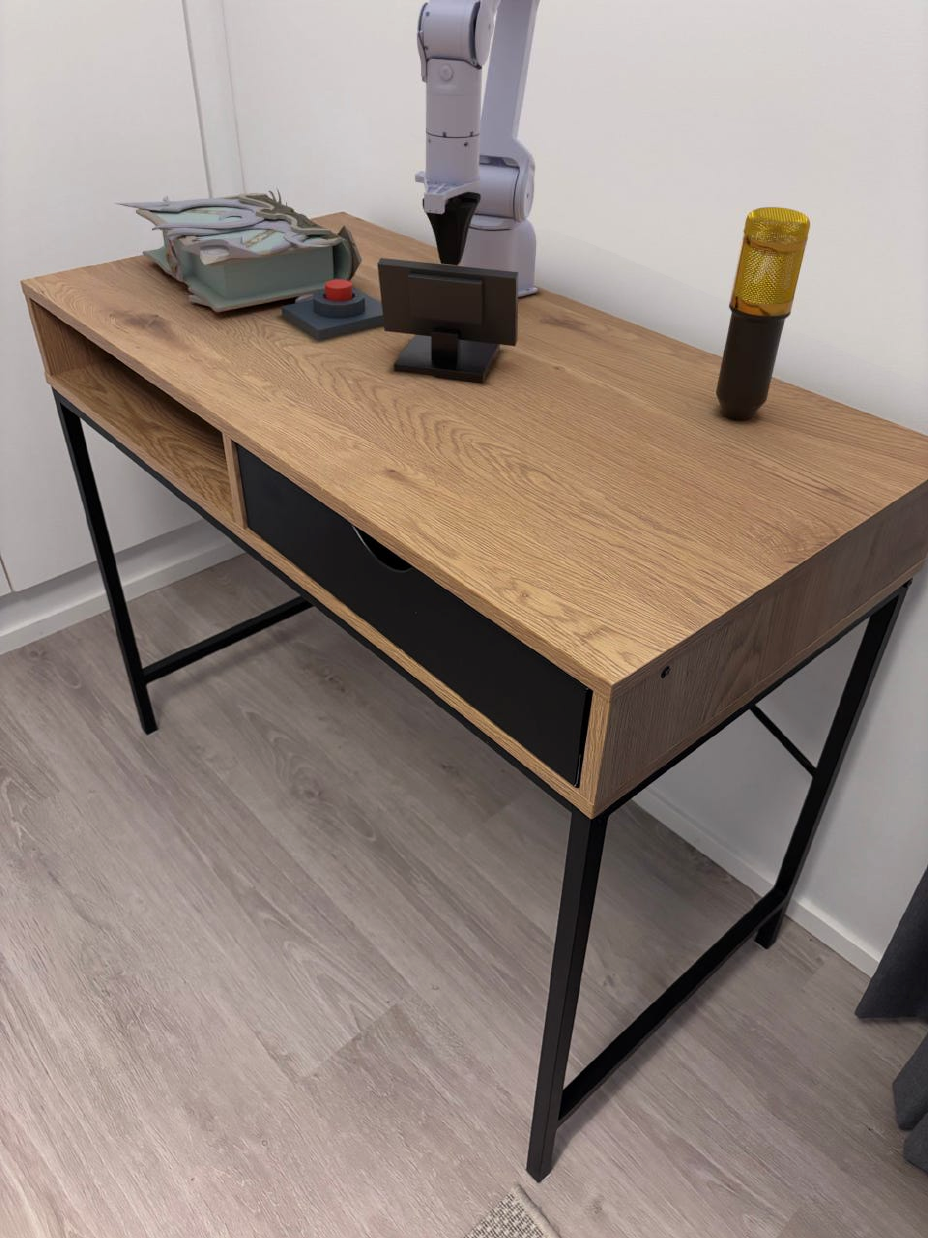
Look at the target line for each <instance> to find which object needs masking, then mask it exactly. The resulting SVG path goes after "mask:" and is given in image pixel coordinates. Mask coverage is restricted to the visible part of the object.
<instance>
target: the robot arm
mask: <svg viewBox="0 0 928 1238" xmlns="http://www.w3.org/2000/svg"><path fill="white" fill-rule="evenodd" d="M540 1H541V0H429V1H428V2H427V1H425V2H424V3H422V5H421V8H420V9H419V14H418V17H417V27H416V29H417V30H416V45H417V52H418V55H419V60H420V77H421V81H422V83H425V171H424V170H421V171H418V172H416V174H415V175H414V181H415V182H416V183H420V184H421V183H422V184H423V185H424V190H425V192H424V193H423V198H422V200H421V201H422V203H421V204H422V209H423V212H424V213H425V214H426V216H427V218H428V220H429V223H430V225H431V228H432V231H433V236H434V240H435V245H436V249H437V254H438V258H439V261H440V264H444V265H454V266H464V267H473V268H483V269H492V270H502V271H512V272H518V298H519V297H520V298H521V297H525V296H529V295H532V294H536V293H538V288H537V287H535V286H534V285H535V272H536V270H535V269H536V258H537V257H536V256H537V236H536V231H535V228H534V227H533V225H532V223H531V222H530V220H528V218H529V217H530V214H531V211H532V207H533V202H534V195H535V175H536V162H535V158H534V156H533V154H532V153H531V151H530V150H529V149H528V147H527V148H526V146H525V145H524V144H523V143H522V142H521V141H520V140H519V139H518V136H519V129H520V124H521V123H520V122H521V117H522V116H521V115H522V110H523V103H524V98H525V90H526V84H527V77H528V71H529V65H530V58H531V52H532V46H533V40H534V35H535V34H534V33H535V29H536V28H535V26H536V21H537V13H538V9H539V5H540ZM494 17H495V20H494ZM488 59H489V62H488V68H487V74H486V81H485V88H484V95H483V101H482V90H483V89H482V85H483V67H484V66H485V65H486V63H487V61H488Z"/></svg>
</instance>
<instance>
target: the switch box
mask: <svg viewBox="0 0 928 1238" xmlns="http://www.w3.org/2000/svg"><path fill="white" fill-rule="evenodd" d="M281 317H282V318H283V319H285V320H286V321H288V322H290V323H291V324H293V325H294V326H296V327H297V328H299V330H302V331H304V332H305V333H306V334H308V335H309V336H311V337H313V338H314V339H316V340H317V341H319V342H320V341H323V340H324V341H325V340H329V339H332V338H337V337H339V336H340V337H341V336H345V335H349V334H353V333H357V332H361V331H366V330H369V329H374V328H377V327H381V326H384V321H383V312H382V303H381V301H380V300H378V299H376V298H374V297H373V296H371V295H369V294H367V293H366V292H364V291H363V290H360V289H358V288H353V287H352V299H351V300H347V301H330V300H327V299H326V296H325V289H321V290H319V291H317V292H315V293H314V294H313V300H309V301H304V302H300V303H291V304H286V305H282V306H281Z"/></svg>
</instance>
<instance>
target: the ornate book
mask: <svg viewBox="0 0 928 1238" xmlns="http://www.w3.org/2000/svg"><path fill="white" fill-rule="evenodd" d="M276 190H277V195H278V201H277V198H276V196H275V194H274V192H273V191H272V190H268V193H269V194H270V195H271V197H272V198H271V197H269V195H268V194H266V193H265V192H250V193H238V194H236V195H229V196H222V197H221V196H220V197H215V198H196V199H195V198H194V199H187V200H175V201H173V200H169V196H168V195H167V196H164V197H163V198H162V199H163V200H162V201H145V202H144V201H142V202H140V201H139V202H114V204H115V205H118V206H124V207H128V208H133V209H135V213H136V214H137V215H138V216H140V217H142V218H144V219H145V220H147V221H149V222H150V223H152V224H153V226H154V227H152V228H151V231H156V230H159V231H162V239H163V245H162V246H161V247H159V248H157V249H150V250H144V251H142V255H143V256H144V257H145V258H147V259H149V260H151V261H152V262H153V263H155V264H156V265H158V266H159V267H160V268H161V269H162V270H163V271H164V272H165V274H167V275H169V276H172V277H173V278H174V279H175V280H177V281H178V282H181V283H184V284H186V285H187V286H188V287H187V290H188V291H189V292H190V293H192V294H190V295H188V302H190V303H191V302H192V303H196V304H199V305H203V306H206V307H208V308H209V307H210V308H211V309H212V310H213V311H214V312H215V313H221V312H226V311H232V310H236V309H241V308H246V307H253V306H258V305H262V304H267V303H273V302H277V301H283V300H288V299H293V298H296V299H295V300H294V301H295V303H300V302H304V301H309V300H313V294H314V293H315V292H317V291H319V290H321V289H325V283H326V282H327V281H330V280H335V279H342V280H347V281H350V282H351V280H352V279H353V278H354V277H355V274H356V272H357V271H358V268H359V267H360V265H361V264H362V262H363V258H362V256H361V254H360V252H359V249H358V247H357V244H356V242H355V239H354V237H353V234H352V232H351V231H350V230H349V228H347V226H346V225H343V226H342V227H341V229H340V230H339V231H338V233H335V232H333V231H332V230H331V229H330V228H326V227H323V226H321V225H320V224H317V223H316V222H314V221H312V220H311V219H309V218H308V217H307V215H305V214H304V213H299V212H296V211H295V209H294V208H293V207H290V206H288V201H287V200H286V201H285V204H283V203H282V196H281V193H280V191H279V189H278V188H276ZM295 303H294V304H295Z"/></svg>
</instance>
